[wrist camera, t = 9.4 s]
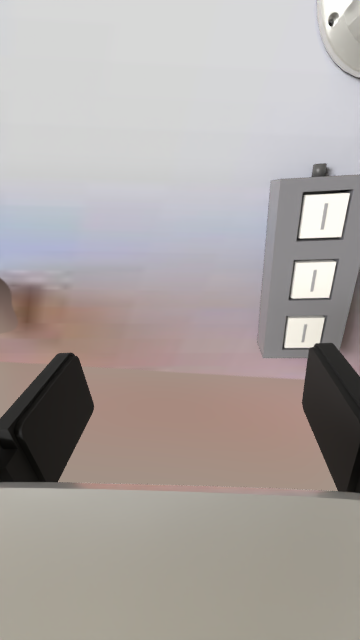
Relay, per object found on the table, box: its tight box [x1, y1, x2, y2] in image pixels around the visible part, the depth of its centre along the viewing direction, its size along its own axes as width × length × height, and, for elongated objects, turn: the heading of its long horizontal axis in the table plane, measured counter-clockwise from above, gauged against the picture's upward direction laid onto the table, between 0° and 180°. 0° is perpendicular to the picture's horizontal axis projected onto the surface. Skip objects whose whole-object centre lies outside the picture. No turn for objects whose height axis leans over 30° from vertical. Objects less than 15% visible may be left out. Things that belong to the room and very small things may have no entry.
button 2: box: [297, 193, 350, 239], centre depth 27 cm, size 4×4×3 cm
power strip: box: [257, 164, 360, 358], centre depth 31 cm, size 21×9×4 cm, turn 3°
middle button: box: [289, 259, 336, 298], centre depth 30 cm, size 4×4×3 cm
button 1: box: [283, 316, 325, 348], centre depth 33 cm, size 4×4×3 cm
